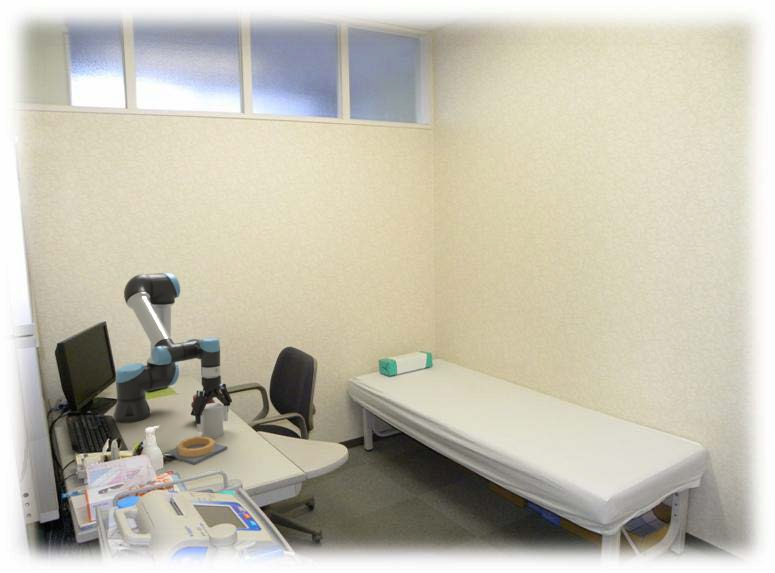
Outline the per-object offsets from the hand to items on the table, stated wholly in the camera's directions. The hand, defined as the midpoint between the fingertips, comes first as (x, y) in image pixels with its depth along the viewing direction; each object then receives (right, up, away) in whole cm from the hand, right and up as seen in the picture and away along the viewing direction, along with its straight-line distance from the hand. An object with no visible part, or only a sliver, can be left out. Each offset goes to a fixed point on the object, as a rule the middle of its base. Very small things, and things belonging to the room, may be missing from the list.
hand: (212, 425), depth 226 cm
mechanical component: (-9, -2, +17) cm, 19 cm away
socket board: (-1, -6, -17) cm, 18 cm away
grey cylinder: (0, -4, +1) cm, 4 cm away
